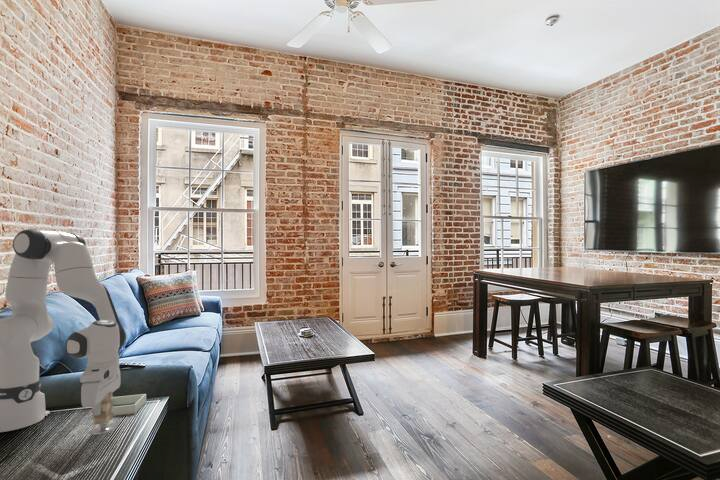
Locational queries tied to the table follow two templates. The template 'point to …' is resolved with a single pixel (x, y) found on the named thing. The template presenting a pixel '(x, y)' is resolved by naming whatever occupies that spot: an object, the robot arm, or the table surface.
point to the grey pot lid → (103, 428)
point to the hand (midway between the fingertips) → (102, 410)
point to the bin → (130, 399)
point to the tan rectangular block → (104, 410)
